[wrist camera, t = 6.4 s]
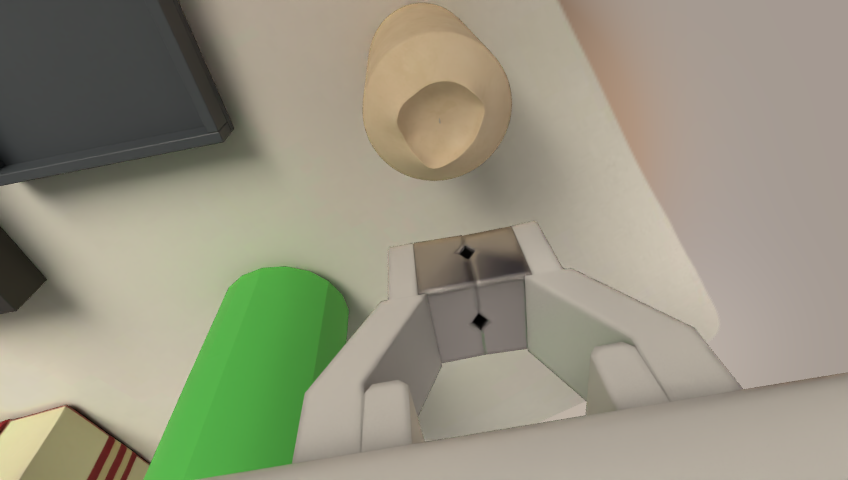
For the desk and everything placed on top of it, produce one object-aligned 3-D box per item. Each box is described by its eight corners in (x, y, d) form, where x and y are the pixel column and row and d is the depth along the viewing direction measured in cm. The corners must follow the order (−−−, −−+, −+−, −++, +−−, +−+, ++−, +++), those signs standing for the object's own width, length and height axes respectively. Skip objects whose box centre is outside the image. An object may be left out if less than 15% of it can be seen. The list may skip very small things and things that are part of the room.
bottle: (205, 316, 32) (-111, 988, 12) (261, 237, 29) (-54, 1000, 8) (312, 361, 36) (214, 934, 15) (373, 295, 32) (353, 927, 12)
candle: (452, 123, 25) (486, 212, 17) (358, 96, 24) (345, 179, 16) (488, 22, 22) (550, 70, 14) (383, -15, 21) (383, 15, 13)
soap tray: (-227, -124, 17) (-290, -130, 16) (92, -196, 17) (60, -211, 15) (10, 173, 25) (-17, 189, 23) (234, 128, 24) (223, 142, 23)
